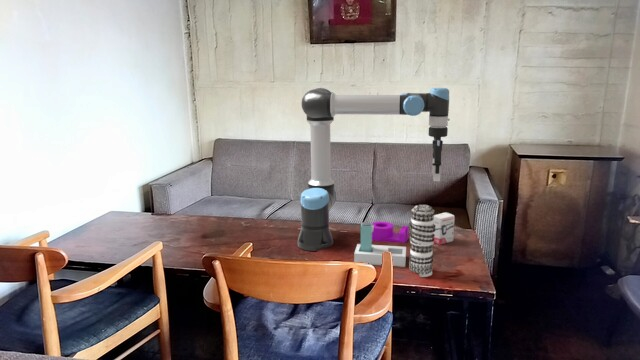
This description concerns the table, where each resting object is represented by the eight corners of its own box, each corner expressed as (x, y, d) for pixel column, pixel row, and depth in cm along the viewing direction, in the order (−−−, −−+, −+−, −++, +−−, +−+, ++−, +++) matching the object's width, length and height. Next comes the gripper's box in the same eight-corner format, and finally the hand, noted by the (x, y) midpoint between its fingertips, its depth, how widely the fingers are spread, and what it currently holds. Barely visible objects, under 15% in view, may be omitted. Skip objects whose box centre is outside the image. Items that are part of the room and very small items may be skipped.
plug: (360, 260, 181) (360, 225, 177) (361, 256, 184) (361, 221, 181) (372, 261, 180) (372, 225, 176) (373, 257, 184) (373, 222, 180)
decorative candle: (405, 275, 170) (407, 208, 164) (410, 265, 178) (412, 201, 172) (431, 279, 166) (434, 211, 161) (434, 268, 175) (438, 204, 169)
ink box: (439, 245, 198) (441, 218, 195) (431, 241, 202) (432, 215, 199) (453, 240, 203) (455, 214, 200) (444, 237, 207) (446, 211, 204)
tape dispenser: (367, 240, 205) (367, 227, 203) (373, 233, 213) (374, 220, 212) (403, 245, 198) (403, 231, 197) (408, 238, 207) (409, 224, 206)
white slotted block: (354, 265, 178) (354, 253, 177) (357, 255, 188) (357, 243, 187) (405, 269, 175) (405, 256, 174) (405, 258, 184) (406, 246, 183)
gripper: (449, 130, 179) (447, 184, 184) (445, 123, 203) (443, 171, 208) (429, 130, 181) (427, 184, 186) (428, 123, 205) (426, 170, 210)
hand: (435, 177), depth 197 cm, fingers open, 13 cm apart
